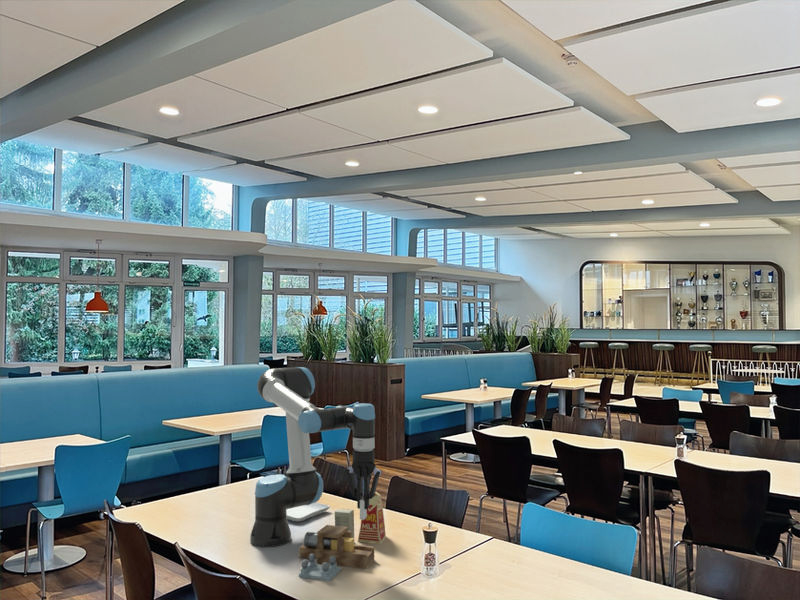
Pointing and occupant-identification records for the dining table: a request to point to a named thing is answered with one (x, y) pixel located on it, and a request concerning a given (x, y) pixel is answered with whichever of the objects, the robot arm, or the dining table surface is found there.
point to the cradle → (319, 569)
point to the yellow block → (347, 544)
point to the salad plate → (306, 511)
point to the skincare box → (345, 519)
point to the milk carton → (373, 522)
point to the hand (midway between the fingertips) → (363, 518)
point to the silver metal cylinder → (311, 540)
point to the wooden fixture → (339, 549)
